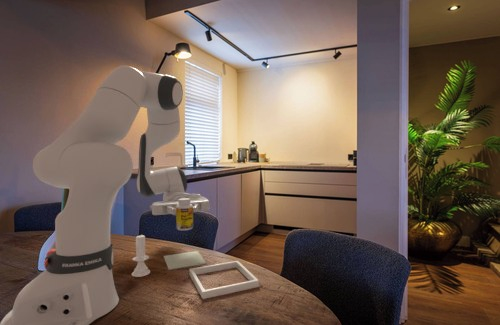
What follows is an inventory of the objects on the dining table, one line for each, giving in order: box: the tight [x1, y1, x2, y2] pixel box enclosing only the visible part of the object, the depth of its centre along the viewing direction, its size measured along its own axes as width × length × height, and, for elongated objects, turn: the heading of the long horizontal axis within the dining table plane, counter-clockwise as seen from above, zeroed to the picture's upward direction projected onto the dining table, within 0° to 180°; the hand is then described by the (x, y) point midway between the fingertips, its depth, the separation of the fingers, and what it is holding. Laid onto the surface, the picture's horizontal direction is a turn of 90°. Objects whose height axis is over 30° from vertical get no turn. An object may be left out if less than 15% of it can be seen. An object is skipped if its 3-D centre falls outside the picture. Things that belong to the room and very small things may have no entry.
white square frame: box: [188, 260, 260, 300], centre depth 80 cm, size 16×16×2 cm
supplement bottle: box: [175, 198, 194, 231], centre depth 95 cm, size 6×6×10 cm
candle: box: [131, 234, 151, 278], centre depth 85 cm, size 5×5×12 cm
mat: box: [163, 250, 207, 271], centre depth 95 cm, size 12×12×1 cm
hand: (185, 210), depth 94 cm, fingers closed on supplement bottle, 6 cm apart
